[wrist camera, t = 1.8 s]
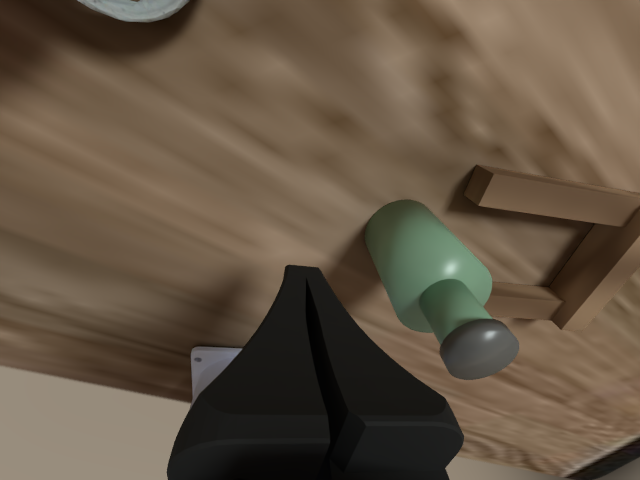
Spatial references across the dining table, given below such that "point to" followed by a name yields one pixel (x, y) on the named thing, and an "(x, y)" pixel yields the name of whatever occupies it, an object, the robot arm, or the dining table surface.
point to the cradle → (586, 262)
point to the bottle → (439, 288)
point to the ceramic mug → (136, 9)
